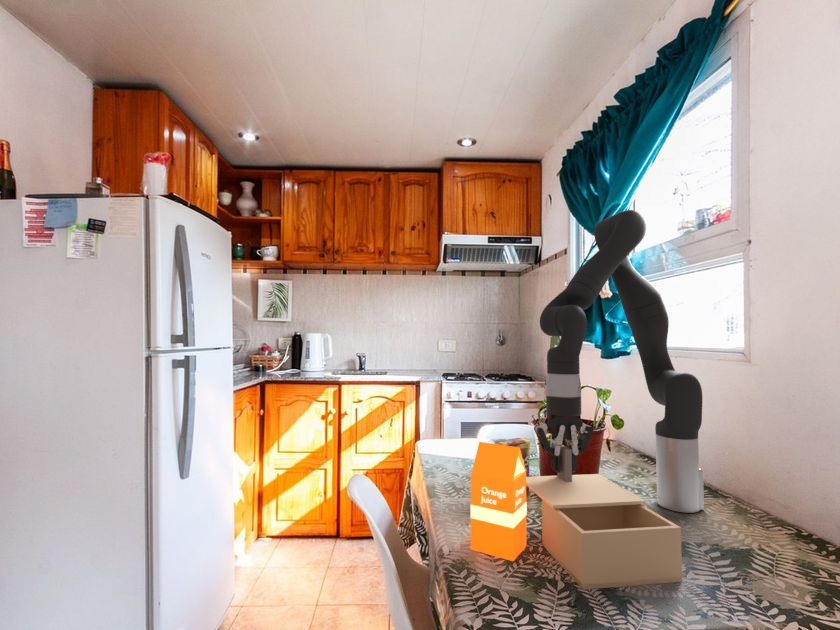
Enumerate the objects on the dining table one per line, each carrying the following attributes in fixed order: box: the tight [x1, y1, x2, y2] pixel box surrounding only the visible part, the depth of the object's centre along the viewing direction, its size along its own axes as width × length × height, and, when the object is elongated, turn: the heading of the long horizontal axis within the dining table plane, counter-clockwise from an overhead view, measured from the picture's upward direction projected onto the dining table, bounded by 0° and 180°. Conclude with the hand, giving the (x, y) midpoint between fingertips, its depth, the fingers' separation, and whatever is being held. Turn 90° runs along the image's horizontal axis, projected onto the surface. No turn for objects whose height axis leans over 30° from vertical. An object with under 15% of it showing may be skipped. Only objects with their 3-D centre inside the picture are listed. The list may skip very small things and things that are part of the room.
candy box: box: [494, 437, 531, 502], centre depth 111 cm, size 9×4×15 cm, turn 123°
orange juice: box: [470, 441, 528, 562], centre depth 87 cm, size 8×9×20 cm
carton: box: [541, 499, 683, 590], centre depth 81 cm, size 18×16×9 cm
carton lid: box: [526, 444, 647, 509], centre depth 92 cm, size 19×17×8 cm
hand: (564, 471), depth 98 cm, fingers open, 3 cm apart
